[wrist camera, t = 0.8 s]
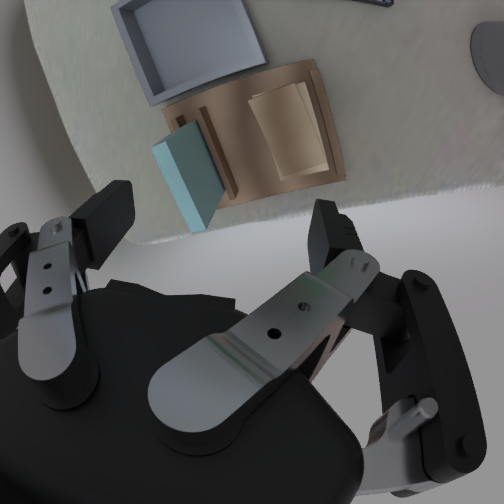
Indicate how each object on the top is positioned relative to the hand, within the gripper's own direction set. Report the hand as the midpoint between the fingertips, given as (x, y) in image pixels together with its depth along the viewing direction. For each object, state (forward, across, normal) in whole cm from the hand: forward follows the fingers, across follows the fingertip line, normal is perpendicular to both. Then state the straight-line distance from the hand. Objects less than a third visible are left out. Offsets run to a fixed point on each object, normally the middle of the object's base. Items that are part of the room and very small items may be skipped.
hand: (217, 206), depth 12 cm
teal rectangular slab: (+18, +4, +3) cm, 19 cm away
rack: (+19, 0, +1) cm, 19 cm away
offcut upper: (+16, -3, -1) cm, 17 cm away
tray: (+19, +7, -10) cm, 23 cm away
